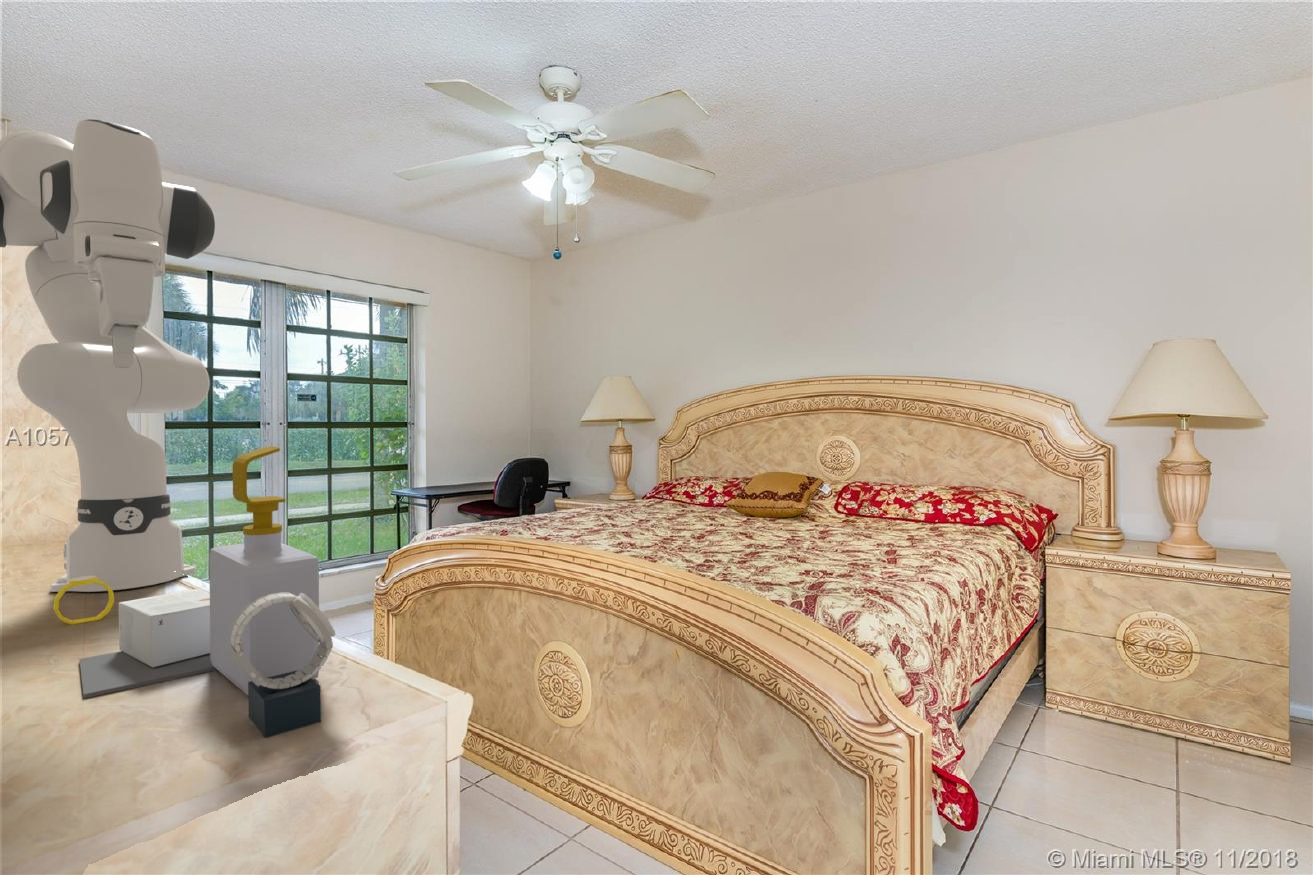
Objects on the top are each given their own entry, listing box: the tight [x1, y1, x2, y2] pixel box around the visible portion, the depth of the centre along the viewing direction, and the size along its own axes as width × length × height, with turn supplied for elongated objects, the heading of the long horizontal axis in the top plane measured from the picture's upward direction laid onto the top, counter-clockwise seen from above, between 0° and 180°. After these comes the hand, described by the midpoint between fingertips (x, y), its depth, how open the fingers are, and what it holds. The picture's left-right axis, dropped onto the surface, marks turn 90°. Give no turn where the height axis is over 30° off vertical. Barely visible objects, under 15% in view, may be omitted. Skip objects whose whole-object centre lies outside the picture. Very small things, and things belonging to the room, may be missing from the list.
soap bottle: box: [208, 445, 320, 696], centre depth 68 cm, size 12×7×23 cm, turn 49°
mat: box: [78, 650, 218, 699], centre depth 73 cm, size 13×14×1 cm
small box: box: [118, 588, 210, 668], centre depth 76 cm, size 8×6×10 cm
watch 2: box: [229, 592, 336, 739], centre depth 58 cm, size 6×8×11 cm
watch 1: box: [53, 575, 115, 626], centre depth 88 cm, size 6×3×6 cm, turn 138°
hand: (123, 367), depth 83 cm, fingers closed
